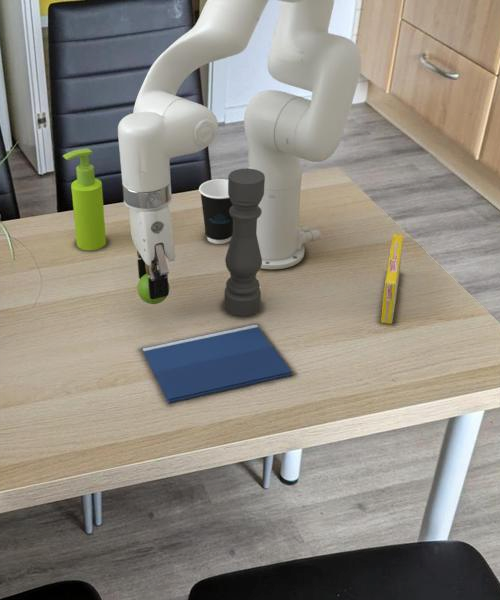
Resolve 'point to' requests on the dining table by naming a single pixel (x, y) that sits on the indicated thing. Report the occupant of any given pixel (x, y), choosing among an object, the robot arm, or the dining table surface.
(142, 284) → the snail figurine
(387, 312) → the candy box
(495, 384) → the dining table surface
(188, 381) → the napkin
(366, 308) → the dining table surface
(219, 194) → the dixie cup
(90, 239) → the soap dispenser
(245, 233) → the candle holder
